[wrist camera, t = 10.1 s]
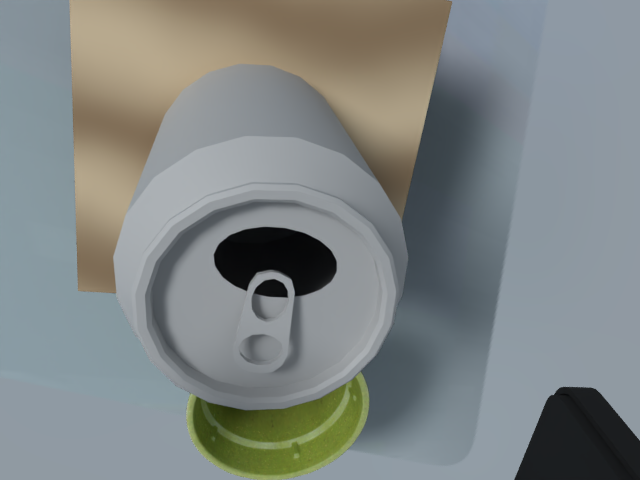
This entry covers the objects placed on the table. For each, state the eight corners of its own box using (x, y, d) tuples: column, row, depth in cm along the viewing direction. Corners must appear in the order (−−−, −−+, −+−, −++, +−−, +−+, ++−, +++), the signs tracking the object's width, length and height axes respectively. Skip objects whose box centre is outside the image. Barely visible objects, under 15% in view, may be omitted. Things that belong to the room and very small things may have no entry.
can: (361, 81, 23) (472, 192, 13) (318, 245, 26) (379, 446, 16) (170, 39, 22) (114, 126, 11) (148, 220, 25) (87, 425, 14)
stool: (110, -58, 27) (67, -62, 20) (399, -11, 30) (452, 1, 22) (111, 217, 33) (78, 290, 26) (351, 236, 35) (381, 308, 28)
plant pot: (364, 277, 37) (399, 363, 29) (310, 390, 40) (329, 493, 33) (222, 236, 34) (220, 318, 27) (177, 360, 38) (163, 465, 30)
